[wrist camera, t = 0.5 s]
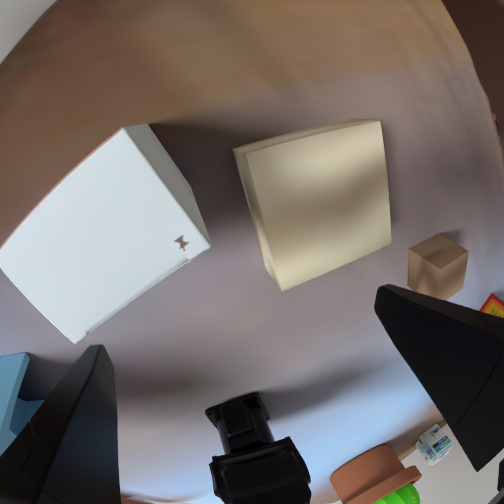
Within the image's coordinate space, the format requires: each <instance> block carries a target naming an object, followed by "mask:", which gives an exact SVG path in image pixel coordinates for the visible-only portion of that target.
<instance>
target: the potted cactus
mask: <svg viewBox="0 0 504 504" xmlns="http://www.w3.org/2000/svg"><path fill="white" fill-rule="evenodd" d="M421 476H422V475H421V473H420V472H419V470H418V469H417V468H416V466H410V467H408V468H406V469H405V467H404V466H403V464H402V463H401V462H400V460H399V459H398V457H397V456H396V454H395V453H394V451H393V450H392V448H391V447H390V446H389V445H380V446H377V447H375V448H373V449H371V450H369V451H367V452H365V453H363V454H361V455H359V456H357V457H356V458H354V459H352V460H351V461H349V462H347V463H346V464H344V465H343V466H341V467H340V468H339V469H337V470H336V471H335V472H334V473H333V474H332V475H331V477H330V481H331V483H332V485H333V487H334V489H335V490H336V492H337V494H338V496H339V498H340V500H341V502H342V503H343V504H420V498H419V494H418V492H417V490H416V488H415V487H414V486H413V484H414V483H415V482H416V481H418V480H419V478H421Z"/></svg>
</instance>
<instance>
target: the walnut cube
mask: <svg viewBox="0 0 504 504" xmlns="http://www.w3.org/2000/svg"><path fill="white" fill-rule="evenodd" d="M468 252H469V251H468V250H466V249H464V248H463V247H461V246H459V245H457V244H456V243H454V242H452V241H450V240H449V239H447V238H445V237H443V236H441V235H440V234H436V235H434V236H432V237H431V238H429V239H427V240H425V241H423V242H421V243H419V244H417V245H415V246H413V247H411V248H409V261H408V283H407V286H409V287H410V288H411V289H412V290H414V291H415V292H418V293H421V294H425V295H428V296H431V297H435V298H438V299H441V300H447V299H448V298H450V297H451V296H452V295H454V294H455V293H457V292H458V291H459V290H461V289H462V288H463V283H464V278H465V272H466V266H467V259H468Z"/></svg>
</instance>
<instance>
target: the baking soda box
mask: <svg viewBox="0 0 504 504" xmlns="http://www.w3.org/2000/svg"><path fill="white" fill-rule="evenodd" d="M480 311H481V312H484V313H488V314H491V315H495V316H499V317H503V318H504V302H503V301H501V300H500V299H499V298H497V297H496V296H495V295H493V294H492V293H491V295H490V296H489V298H488V299H487V301H486V302H485V304H484V305H483V307H482V308H481V309H480Z"/></svg>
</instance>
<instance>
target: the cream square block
mask: <svg viewBox="0 0 504 504" xmlns="http://www.w3.org/2000/svg"><path fill="white" fill-rule="evenodd" d="M232 150H233V154H234V157H235V161H236V164H237V168H238V171H239V175H240V178H241V182H242V185H243V189H244V192H245V196H246V199H247V203H248V206H249V210H250V213H251V217H252V221H253V224H254V228H255V231H256V235H257V238H258V242H259V246H260V249H261V253H262V256H263V260H264V264H265V267H266V269H267V271H268V272H269V274H270V275H271V276H272V278H273V279H274V281H275V282H276V284H277V285H278V286H279V288H280V289H281V291H284V290H286V289H289V288H291V287H294V286H296V285H298V284H301V283H303V282H306V281H308V280H310V279H313V278H315V277H318V276H320V275H322V274H325V273H327V272H329V271H332V270H334V269H336V268H338V267H341V266H343V265H345V264H348V263H350V262H352V261H354V260H357V259H359V258H361V257H363V256H366V255H368V254H370V253H372V252H374V251H377V250H379V249H381V248H383V247H385V246H388V245H390V244H391V222H390V204H389V190H388V178H387V168H386V159H385V151H384V143H383V136H382V130H381V123H380V121H375V120H363V119H347V120H342V121H337V122H333V123H328V124H323V125H319V126H315V127H310V128H306V129H302V130H298V131H294V132H290V133H286V134H282V135H278V136H274V137H271V138H267V139H263V140H260V141H256V142H253V143H249V144H246V145H243V146H239V147H236V148H233V149H232Z"/></svg>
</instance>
